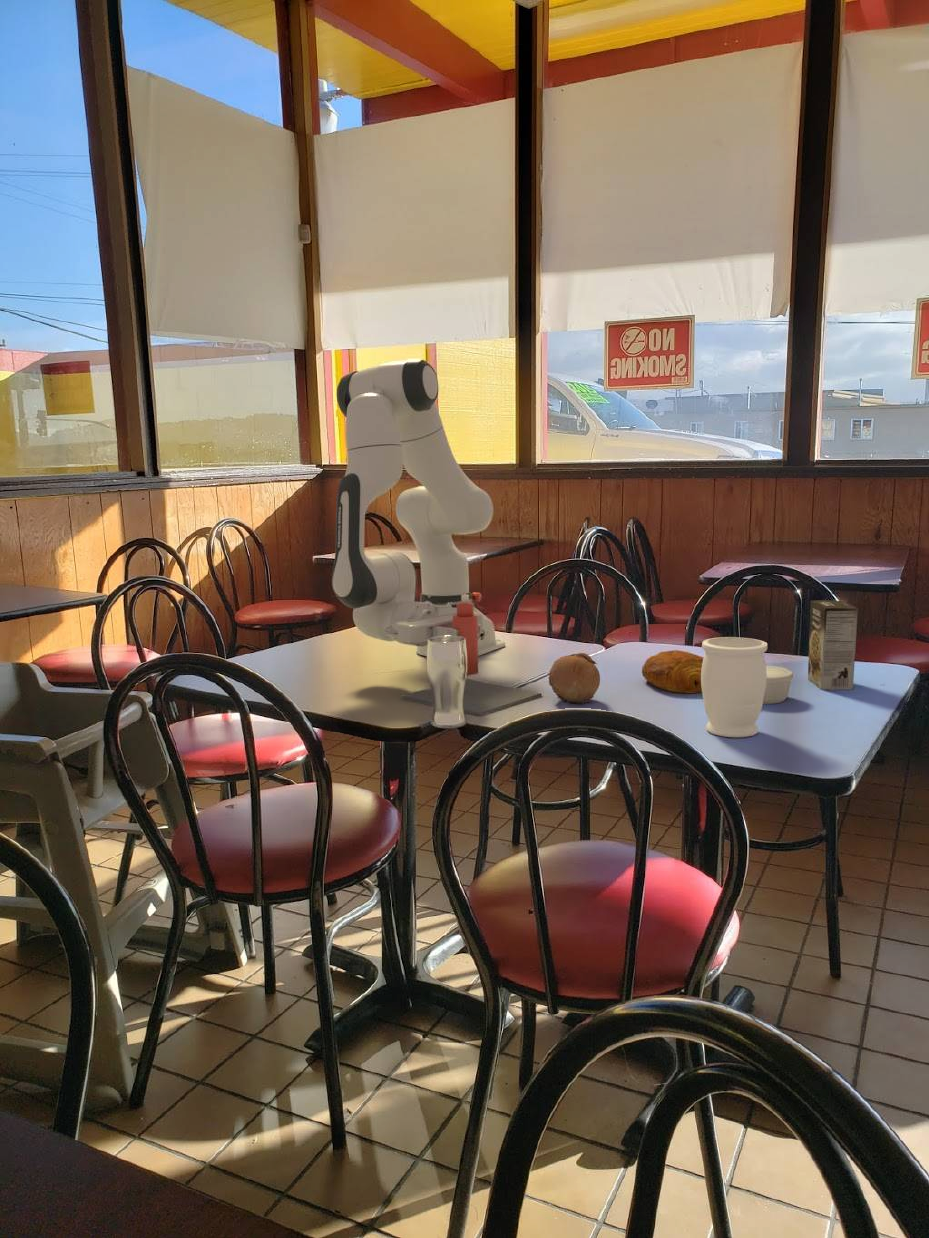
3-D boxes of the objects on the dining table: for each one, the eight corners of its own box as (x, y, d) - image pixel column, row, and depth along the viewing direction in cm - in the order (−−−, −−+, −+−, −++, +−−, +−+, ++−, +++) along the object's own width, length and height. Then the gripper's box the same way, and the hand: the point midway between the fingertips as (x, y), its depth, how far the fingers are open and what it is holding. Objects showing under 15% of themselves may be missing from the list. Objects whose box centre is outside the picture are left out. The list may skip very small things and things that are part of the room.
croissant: (663, 707, 181) (665, 668, 179) (632, 678, 196) (633, 642, 193) (732, 700, 184) (735, 661, 182) (697, 672, 199) (699, 635, 196)
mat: (464, 681, 196) (464, 678, 196) (541, 696, 183) (541, 693, 183) (401, 698, 183) (401, 695, 183) (479, 715, 170) (479, 712, 170)
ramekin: (716, 697, 180) (717, 670, 179) (753, 688, 186) (754, 661, 185) (766, 709, 171) (767, 680, 170) (804, 699, 177) (805, 671, 176)
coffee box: (806, 679, 192) (809, 600, 189) (838, 678, 192) (842, 599, 189) (820, 690, 183) (823, 607, 180) (854, 689, 183) (858, 606, 180)
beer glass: (464, 730, 161) (462, 643, 159) (424, 728, 163) (421, 642, 160) (472, 718, 168) (470, 635, 166) (433, 717, 170) (431, 634, 167)
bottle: (465, 668, 186) (464, 592, 184) (483, 672, 183) (482, 594, 180) (448, 672, 182) (447, 595, 180) (466, 676, 179) (465, 597, 177)
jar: (701, 720, 164) (703, 635, 162) (764, 724, 161) (767, 637, 159) (698, 738, 154) (700, 647, 152) (765, 742, 151) (768, 650, 149)
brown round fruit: (587, 712, 182) (606, 663, 183) (590, 712, 173) (610, 660, 173) (540, 693, 183) (559, 645, 184) (541, 692, 174) (561, 641, 174)
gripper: (378, 614, 182) (430, 622, 173) (451, 602, 197) (502, 608, 188) (379, 647, 183) (430, 656, 174) (452, 632, 198) (502, 640, 189)
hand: (468, 631), depth 181 cm, fingers closed on bottle, 5 cm apart
